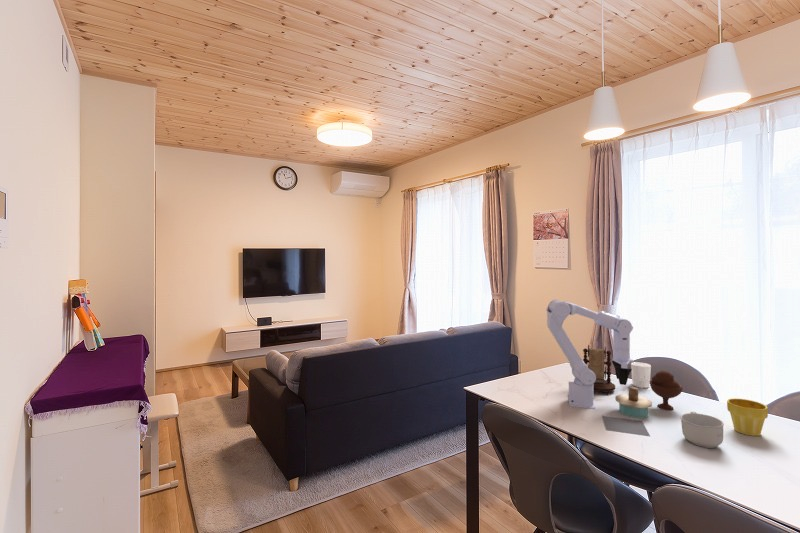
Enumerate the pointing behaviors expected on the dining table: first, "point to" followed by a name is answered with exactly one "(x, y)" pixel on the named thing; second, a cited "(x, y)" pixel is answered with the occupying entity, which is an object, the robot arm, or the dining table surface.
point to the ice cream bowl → (665, 388)
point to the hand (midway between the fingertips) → (621, 381)
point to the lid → (633, 399)
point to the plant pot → (747, 415)
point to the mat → (625, 425)
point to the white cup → (640, 374)
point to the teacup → (702, 429)
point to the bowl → (633, 411)
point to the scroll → (599, 368)
